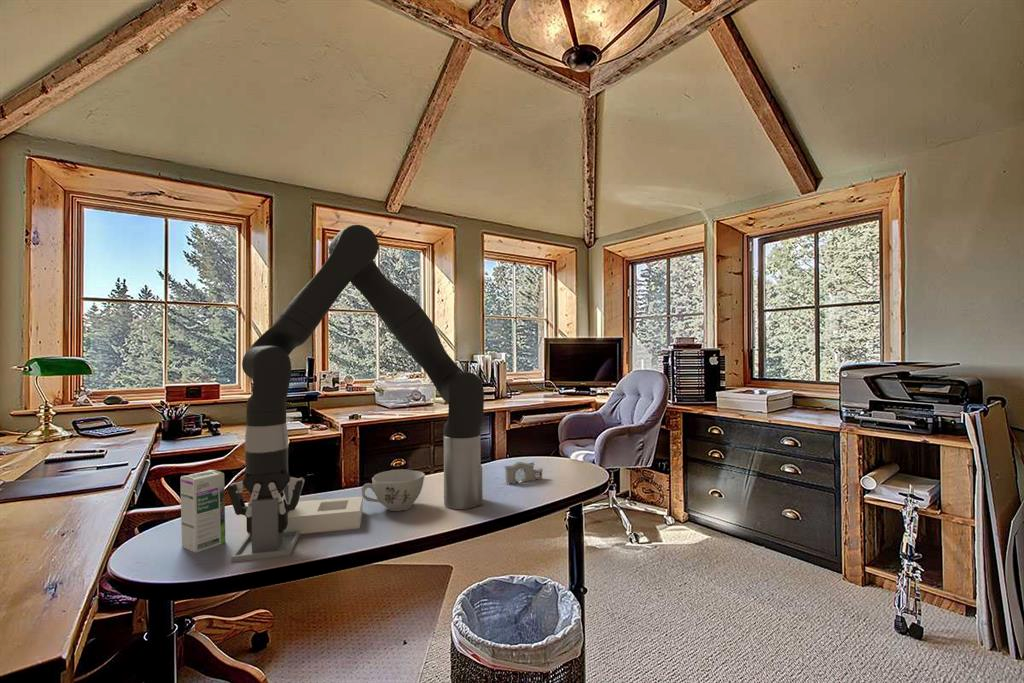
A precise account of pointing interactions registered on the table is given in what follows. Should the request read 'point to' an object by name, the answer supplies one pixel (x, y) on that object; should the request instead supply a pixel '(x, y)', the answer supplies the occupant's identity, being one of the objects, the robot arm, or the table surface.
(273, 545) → the plug
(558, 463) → the table surface
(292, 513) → the power strip
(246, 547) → the tray
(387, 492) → the teacup
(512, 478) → the garden wall model
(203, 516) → the syrup box
